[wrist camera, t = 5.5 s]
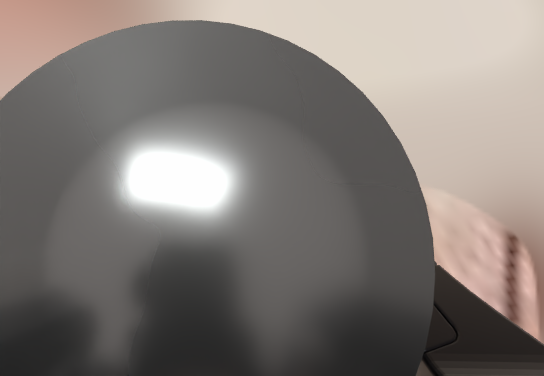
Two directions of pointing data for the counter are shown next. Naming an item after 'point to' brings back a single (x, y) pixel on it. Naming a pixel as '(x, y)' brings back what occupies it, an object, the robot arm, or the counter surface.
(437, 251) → the counter surface
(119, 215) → the tin
